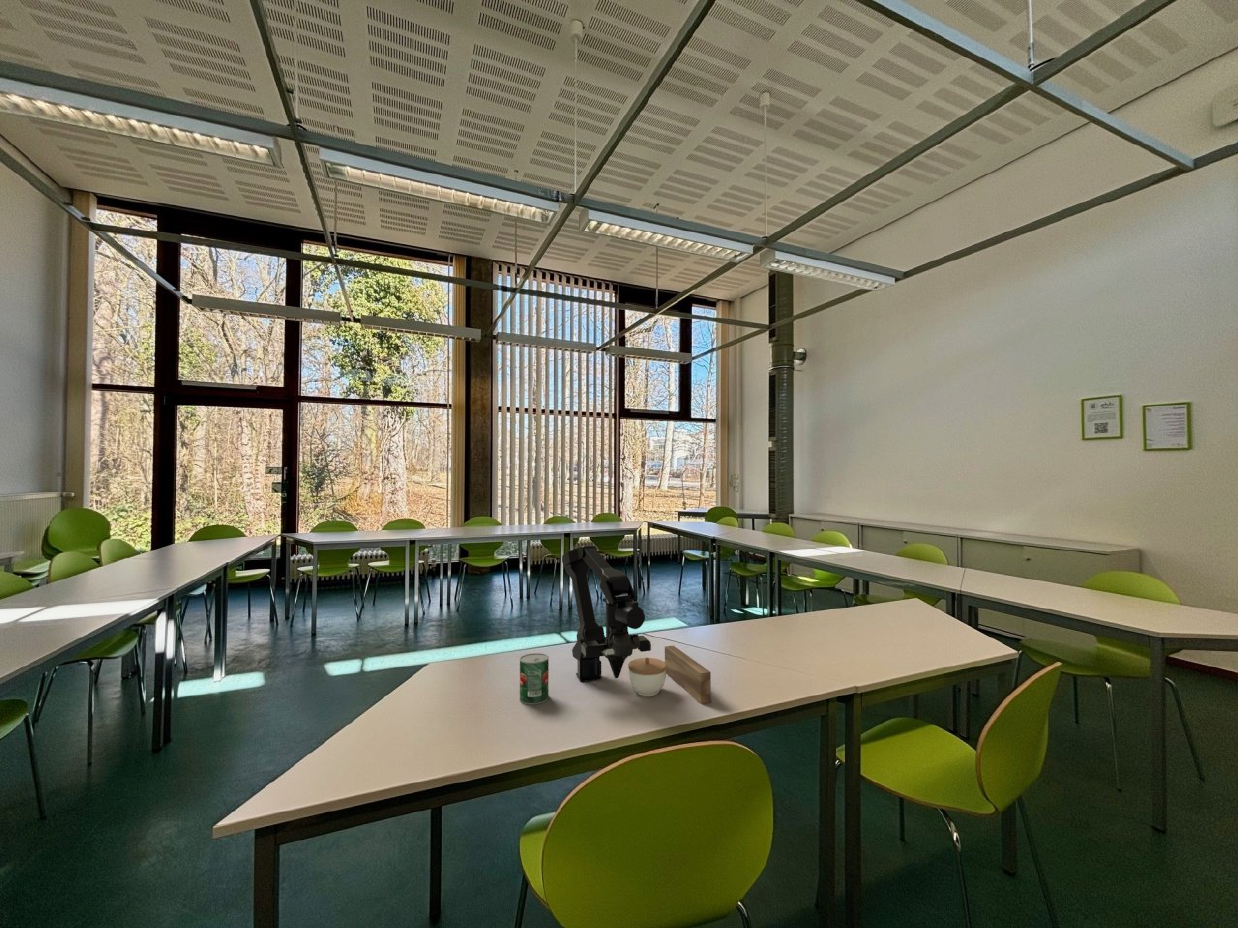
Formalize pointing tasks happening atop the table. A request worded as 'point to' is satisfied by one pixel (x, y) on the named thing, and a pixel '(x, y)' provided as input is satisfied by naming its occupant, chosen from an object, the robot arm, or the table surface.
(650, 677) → the lidded jar
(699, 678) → the walnut board
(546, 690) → the canned tomato
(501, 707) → the table surface
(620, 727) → the table surface
